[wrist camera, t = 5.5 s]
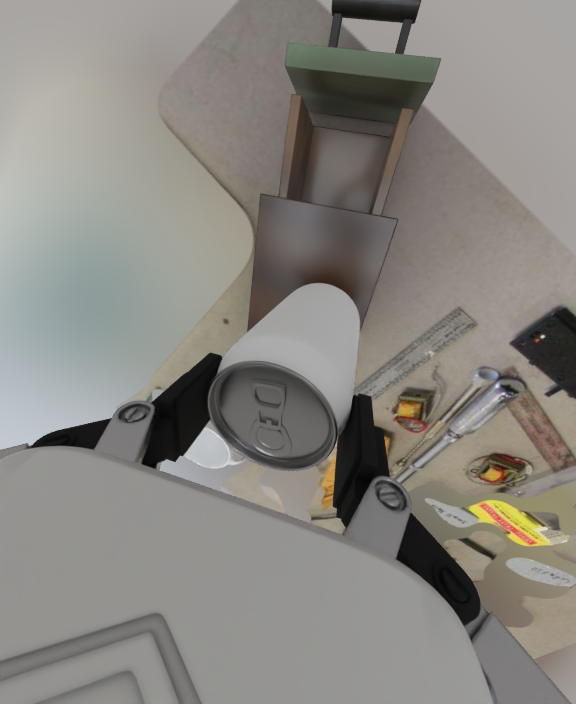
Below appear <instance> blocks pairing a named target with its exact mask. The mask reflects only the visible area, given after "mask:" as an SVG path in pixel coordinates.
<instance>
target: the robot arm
mask: <svg viewBox="0 0 576 704" xmlns="http://www.w3.org/2000/svg"><path fill="white" fill-rule="evenodd" d="M221 361H222V356H221V355H217V354H214V353H209V354H208V355H207V356H206V357H204V358H203V359H202V360H201V361H200V362H199V363H198V364H197V365H195V366H194V367H193V368H192V369H191V370H190V371H189V372H187V373H185V374H184V375H183V376H181V377H180V378H179V379H178V380H177V381H176V382H174V383H173V384H172V385H171V386H170V387H169V388H168V389H166V390H165V391H164V392H163V393H162V394H161V395H160V396H158V397H157V398H156V399H155V400H154V401H153V402H152V403H150V402H147V401H133V402H130V403H127V404H125V405H123V406H121V407H120V408H118V409H117V411H116V412H115V413H114V415H113V417H112V418H110V419H106V420H102V421H97V422H93V423H88V424H84V425H80V426H75V427H71V428H66V429H62V430H58V431H55V432H51V433H49V434H47V435H45V436H43V437H42V438H40V439H39V440H37V441H36V442H35V443H34V444H33V445H32V446H29V445H28V443H27V444H22V445H19V446H15V447H11V448H7V449H3V450H0V704H571V702H570V701H569V700H568V699H567V698H566V697H565V695H564V694H563V693H562V692H561V691H560V690H559V688H557V686H556V685H555V684H554V683H553V682H552V680H551V679H550V678H549V677H548V676H547V675H546V673H545V672H544V671H543V670H542V669H541V668H540V666H539V665H538V664H537V663H536V662H535V661H534V659H533V658H532V657H531V656H530V655H529V654H528V652H527V651H526V650H525V649H524V648H523V647H522V646H521V644H520V643H519V642H518V641H517V640H516V639H515V637H514V636H513V635H512V634H511V633H510V632H509V630H508V629H507V628H506V627H505V626H504V625H503V624H502V622H501V621H500V620H499V619H498V618H497V617H496V615H495V614H494V613H493V612H490V613H488V612H487V611H486V610H485V608H484V607H483V606H482V605H481V604H480V598H479V595H478V592H477V589H476V588H475V586H474V584H473V582H472V580H471V579H470V578H469V576H468V575H467V574H466V573H465V571H464V570H463V569H462V568H461V567H460V566H459V565H458V564H457V562H456V561H455V560H454V559H453V558H452V557H451V556H450V555H449V554H448V553H447V551H446V550H445V549H444V548H443V547H442V546H441V545H440V544H439V543H438V542H437V541H436V540H435V538H434V537H433V536H432V535H431V534H430V533H429V532H428V531H427V530H426V528H425V527H424V526H423V525H422V524H421V523H420V522H419V521H418V520H417V519H416V517H414V515H413V514H412V513H411V507H412V503H411V498H410V496H409V494H408V492H407V491H406V489H405V488H404V487H403V486H402V485H401V484H400V483H399V482H397V481H396V480H394V479H392V478H390V475H389V468H388V461H387V454H386V447H385V440H384V433H383V429H382V428H379V427H376V426H374V420H373V410H372V400H371V396H367V395H363V394H360V393H359V394H358V396H356V395H354V396H353V399H352V406H351V412H350V416H349V419H348V422H347V424H346V426H345V428H344V430H343V431H342V433H341V434H340V435H339V436H338V442H337V455H336V468H335V482H334V495H333V507H335V508H337V516H336V517H337V518H340V519H341V521H342V523H343V524H344V526H345V527H346V530H345V532H344V534H343V535H340V534H338V533H335V532H332V531H330V530H327V529H324V528H322V527H319V526H316V525H313V524H311V523H308V522H305V521H302V520H299V519H297V518H294V517H291V516H288V515H285V514H282V513H280V512H277V511H274V510H271V509H268V508H266V507H263V506H260V505H257V504H254V503H251V502H249V501H246V500H243V499H240V498H237V497H234V496H232V495H229V494H226V493H223V492H220V491H217V490H214V489H212V488H209V487H205V486H203V485H200V484H197V483H194V482H191V481H189V480H185V479H183V478H180V477H177V476H174V475H171V474H168V473H165V472H162V471H159V469H160V465H161V462H162V461H164V460H166V459H168V460H171V461H174V462H176V460H177V459H178V457H179V456H183V455H184V454H185V453H186V452H187V451H188V449H189V448H190V447H191V445H192V444H193V442H194V441H195V440H196V438H197V437H198V436H199V434H200V433H201V432H202V430H203V429H204V428H205V426H206V425H207V424H208V422H209V421H210V417H209V414H208V410H207V392H208V388H209V385H210V383H211V382H212V380H213V378H214V377H215V376H216V375H217V372H218V369H219V366H220V363H221Z"/></svg>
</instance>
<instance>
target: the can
mask: <svg viewBox="0 0 576 704" xmlns="http://www.w3.org/2000/svg"><path fill="white" fill-rule="evenodd" d="M359 332H360V318H359V313H358V310H357V307H356V305H355V304H354V302H353V300H352V299H351V298H350V297H349V296H348V295H347V294H346V293H345V292H344V291H342V290H341V289H339V288H337V287H335V286H332V285H329V284H324V283H313V284H308V285H305V286H302V287H300V288H298V289H297V290H295V291H294V292H292V293H291V294H290V295H289V296H288V297H287V298H285V299H284V300H283V301H282V302H281V303H280V304H279V305H277V306H276V307H275V308H274V309H273V310H272V311H271V312H269V313H268V314H267V315H266V316H265V317H264V318H263V319H262V320H261V321H259V322H258V323H257V324H256V325H255V326H254V327H253V328H252V329H250V330H249V331H248V332H247V333H246V334H245V335H244V336H243V337H242V338H241V339H240V340H238V341H237V342H236V343H235V344H234V345H233V346H232V347H231V348H230V349H229V351H228V352H227V353H226V354H225V356H224V357H223V359H222V361H221V363H220V366H219V369H218V372H217V375H216V376H215V377H214V378H213V380H212V382H211V383H210V385H209V388H208V392H207V410H208V414H209V417H210V419H211V422H212V424H213V426H214V427H215V429H216V431H217V432H218V434H219V435H220V436H221V437H222V439H223V440H224V441H225V442H226V443H227V444H228V445H229V446H230V447H231V448H233V449H234V450H235V451H236V452H238V453H239V454H240V455H242V456H243V457H245V458H247V459H249V460H250V461H252V462H255V463H257V464H259V465H262V466H265V467H268V468H272V469H276V470H284V471H297V470H304V469H308V468H311V467H314V466H316V465H318V464H319V463H321V462H322V461H324V460H325V459H326V458H327V457H328V456H329V455H330V453H331V452H332V450H333V448H334V446H335V444H336V440H337V437H338V436H339V435H340V434H341V433H342V431H343V430H344V428H345V426H346V424H347V422H348V419H349V416H350V412H351V406H352V399H353V391H354V382H355V373H356V363H357V353H358V343H359Z"/></svg>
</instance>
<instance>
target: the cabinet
mask: <svg viewBox="0 0 576 704" xmlns="http://www.w3.org/2000/svg"><path fill="white" fill-rule="evenodd" d="M397 222H398V219H396V218H390V217H385V216H379V215H374V214H369V213H363V212H358V211H352V210H347V209H342V208H336V207H331V206H325V205H320V204H315V203H309V202H304V201H298V200H293V199H288V198H282V197H277V196H271V195H266V194H261V195H260V204H259V215H258V225H257V236H256V246H255V257H254V267H253V277H252V288H251V298H250V309H249V319H248V330H247V332H248V331H249V330H250V329H252V328H253V327H254V326H255V325H256V324H257V323H258V322H259V321H261V320H262V319H263V318H264V317H265V316H266V315H267V314H268V313H269V312H271V311H272V310H273V309H274V308H275V307H276V306H277V305H279V304H280V303H281V302H282V301H283V300H284V299H285V298H287V297H288V296H289V295H290V294H291V293H292V292H294V291H295V290H297V289H298V288H300V287H302V286H305V285H308V284H313V283H324V284H329V285H332V286H335V287H337V288H339V289H341V290H342V291H344V292H345V293H346V294H347V295H348V296H349V297H350V298H351V299H352V300H353V302H354V304H355V305H356V307H357V310H358V313H359V318H360V330H361V327H362V325H363V322H364V319H365V316H366V313H367V310H368V307H369V304H370V301H371V298H372V295H373V292H374V289H375V287H376V284H377V281H378V278H379V275H380V272H381V269H382V266H383V263H384V260H385V257H386V254H387V251H388V248H389V246H390V243H391V240H392V237H393V234H394V231H395V228H396V225H397ZM359 333H360V332H359Z"/></svg>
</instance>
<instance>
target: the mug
mask: <svg viewBox="0 0 576 704" xmlns="http://www.w3.org/2000/svg"><path fill="white" fill-rule="evenodd" d="M234 452H235V450H234V449H233V448H231V447H230V446H229V445H228V444H227V443H226V442H225V441H224V440H223V439H222V437H221V436H220V435H219V434H218V432H217V431H216V429H215V427H214V426H213V424H212V422H211V419H210V421H209V422H208V424H207V425H206V426H205V428H204V429H203V430H202V432H201V433H200V434H199V436H198V437H197V438H196V440H195V441H194V442H193V444H192V445H191V447H190V448H189V449H188V451H187V452H186V453H185V454H184V455H185V456H186V457H187V458H188V459H190V460H191V461H193V462H194V463H196V464H198V465H200V466H203V467H207V468H213V469H216V468H222V467H224V466H226V465H227V464H229V465H236V464H239V463H241V462H243V461H244V460H245V459H246V458H245V457H243V458H242V459H241V460H234V458H233V454H234Z"/></svg>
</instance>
